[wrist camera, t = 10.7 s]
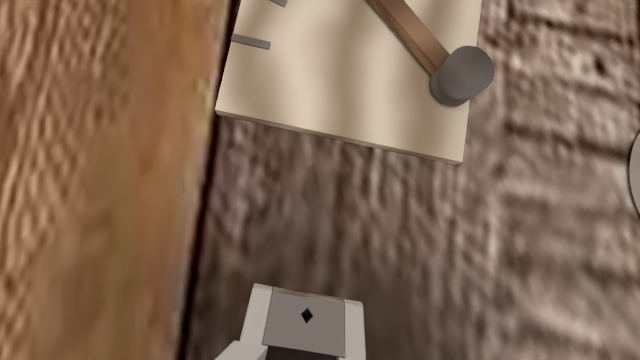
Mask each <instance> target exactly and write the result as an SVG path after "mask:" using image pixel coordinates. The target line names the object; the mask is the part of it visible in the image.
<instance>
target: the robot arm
mask: <svg viewBox="0 0 640 360" xmlns="http://www.w3.org/2000/svg"><path fill="white" fill-rule="evenodd" d="M630 184H631V190H632V194H633V198H634V201H635V204H636V206H637V209H638V211H639V213H640V133H639V135H638V136H637V138H636V140H635V143H634V146H633V149H632V153H631V158H630ZM272 288H273V290H272ZM215 360H366V349H365V331H364V313H363V305H362V302H360V301H354V300H347V299H343V298H339V297H333V296H326V295H320V294H314V293H304V292H299V291H294V290H289V289H283V288H278V287H273V286H268V285H262V284H257V283H254V286H253V288H252V292H251V296H250V300H249V305H248V309H247V313H246V317H245V321H244V325H243V329H242V333H241V337H240V341H233V342H232V343H231V344H230V345H229V346H228V347H227V348H226V349H225V350H224V351H223V352H222V353H221V354H220V355H219V356H218V357H217V358H216V359H215Z"/></svg>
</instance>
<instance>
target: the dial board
mask: <svg viewBox="0 0 640 360" xmlns="http://www.w3.org/2000/svg"><path fill="white" fill-rule="evenodd" d="M404 1H405V2H406V3H407V5H408V6H409V7H410V8H411V9H412V10H413V12H414V13H415V14H416V15H417V16H418V17H419V19H420V20H421V21H422V22H423V23H424V25H425V26H426V27H427V28H428V29H429V30H430V32H431V33H432V34H433V35H434V36H435V37H436V39H437V40H438V41H439V42H440V43H441V44H442V46H443V47H444V48H445V49H446V50H447V51H448V53H449V54H450V55H451V54H452V53H453V52H454V51H455V50H456V49H457V48H459V47H462V46H475V47H476V45H477V37H478V28H479V20H480V12H481V3H482V0H404ZM431 77H432V75H431V74H430V73H429V72H428V70H427V69H426V68H425V67H424V66H423V65H422V63H421V62H420V61H419V60H418V59H417V57H416V56H415V55H414V54H413V53H412V52H411V50H410V49H409V48H408V47H407V46H406V44H405V43H404V42H403V41H402V40H401V39H400V37H399V36H398V35H397V34H396V33H395V31H394V30H393V29H392V28H391V27H390V26H389V24H388V23H387V22H386V21H385V20H384V19H383V17H382V16H381V15H380V14H379V13H378V11H377V10H376V9H375V8H374V7H373V6H372V4H371V3H370V2H369V1H368V0H241V4H240V8H239V12H238V16H237V21H236V25H235V29H234V33H233V34H232V39H231V45H230V49H229V54H228V58H227V62H226V66H225V70H224V74H223V78H222V82H221V87H220V91H219V95H218V99H217V103H216V107H215V111H216V113H217V114H218V115H222V116H227V117H231V118H236V119H241V120H246V121H250V122H255V123H260V124H265V125H269V126H274V127H279V128H283V129H288V130H293V131H298V132H302V133H307V134H312V135H317V136H321V137H326V138H331V139H335V140H340V141H345V142H350V143H354V144H359V145H364V146H369V147H373V148H378V149H383V150H387V151H392V152H397V153H402V154H406V155H411V156H416V157H421V158H425V159H430V160H435V161H439V162H444V163H449V164H454V165H456V164H459V163H461V162H462V161H463V153H464V145H465V136H466V128H467V120H468V111H469V103H470V99H469V100H468V101H467V102H465V103H464V104H462V105H459V106H448V105H445V104H443V103H441V102H440V101H439V100H438V99H437V98H436V97H435V96H434V94H433V92H432V90H431V85H430V81H431Z"/></svg>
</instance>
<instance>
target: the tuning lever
mask: <svg viewBox="0 0 640 360" xmlns="http://www.w3.org/2000/svg"><path fill="white" fill-rule="evenodd" d="M368 1H369V2H370V3H371V4H372V6H373V7H374V8H375V9H376V10H377V11H378V13H379V14H380V15H381V16H382V17H383V19H384V20H385V21H386V22H387V23H388V24H389V26H390V27H391V28H392V29H393V30H394V31H395V33H396V34H397V35H398V36H399V37H400V39H401V40H402V41H403V42H404V43H405V44H406V46H407V47H408V48H409V49H410V50H411V52H412V53H413V54H414V55H415V56H416V57H417V59H418V60H419V61H420V62H421V63H422V65H423V66H424V67H425V68H426V69H427V70H428V72H429V73H430V74H431V75H432V77H431V81H430V85H431V90H432V92H433V94H434V96H435V97H436V98H437V99H438V100H439V101H440V102H441V103H443V104H445V105H448V106H459V105H462V104H464V103H465V102H467V101H468V100H469V99H471V98H472V97H474V96H475V95H477V94H478V93H480V92H481V91H483V90H484V89H485V88H487V87H488V86H489V85H490V83H491V82H492V80H493V77H494V66H493V63H492V61H491V59H490V57H489V56H488V55H487V54H486V53H485V52H484V51H483V50H481V49H480V48H477V47H475V46H462V47H459V48H457V49H456V50H455V51H454V52H453V53H452V54H451V55H450V54H449V53H448V51H447V50H446V49H445V48H444V47H443V46H442V44H441V43H440V42H439V41H438V40H437V39H436V37H435V36H434V35H433V34H432V33H431V32H430V30H429V29H428V28H427V27H426V26H425V25H424V23H423V22H422V21H421V20H420V19H419V17H418V16H417V15H416V14H415V13H414V12H413V10H412V9H411V8H410V7H409V6H408V5H407V3H406V2H405V1H404V0H368Z"/></svg>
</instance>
